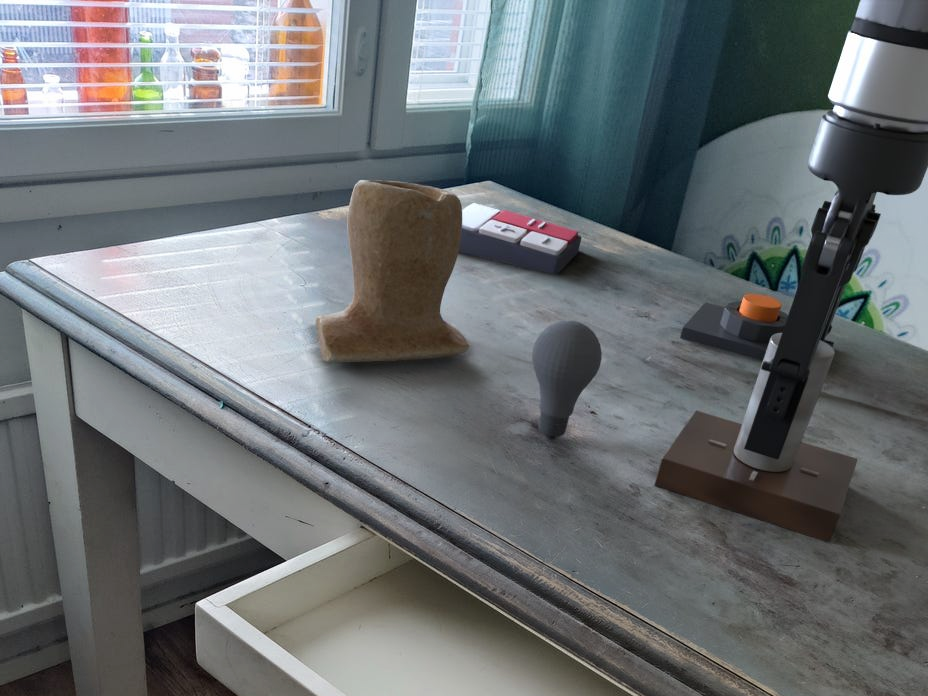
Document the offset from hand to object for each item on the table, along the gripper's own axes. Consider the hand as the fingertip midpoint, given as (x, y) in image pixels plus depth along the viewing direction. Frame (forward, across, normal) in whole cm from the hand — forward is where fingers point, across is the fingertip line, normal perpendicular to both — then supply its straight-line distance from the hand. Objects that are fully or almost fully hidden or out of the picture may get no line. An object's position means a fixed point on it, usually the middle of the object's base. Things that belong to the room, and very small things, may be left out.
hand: (769, 439), depth 79 cm
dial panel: (+4, 0, 0) cm, 4 cm away
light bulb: (+4, -3, +17) cm, 18 cm away
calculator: (+4, +40, +39) cm, 56 cm away
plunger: (+1, +31, +7) cm, 32 cm away
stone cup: (+4, +4, +37) cm, 37 cm away
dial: (+2, 0, 0) cm, 2 cm away
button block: (+4, +31, +7) cm, 32 cm away
